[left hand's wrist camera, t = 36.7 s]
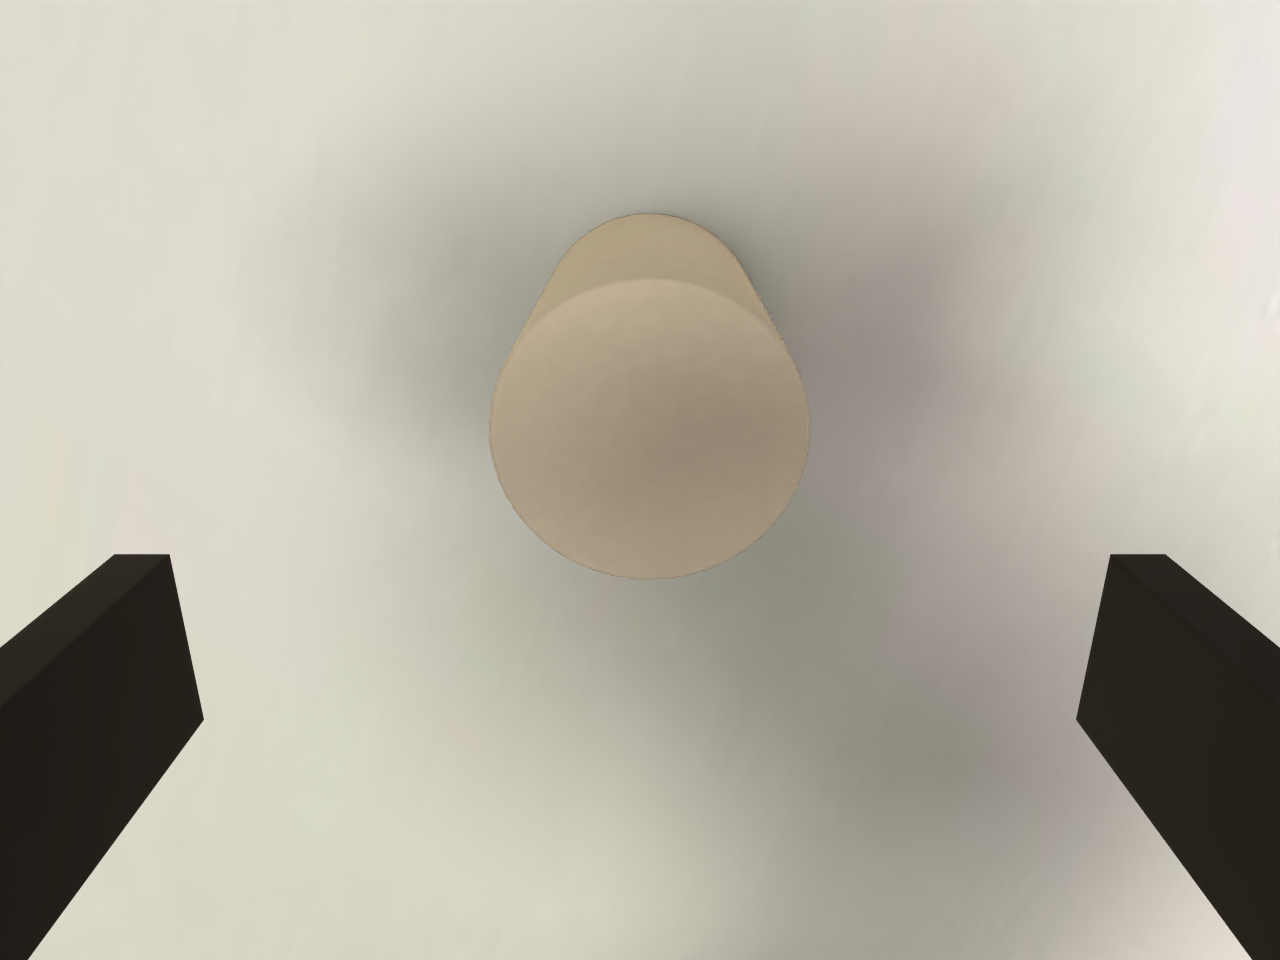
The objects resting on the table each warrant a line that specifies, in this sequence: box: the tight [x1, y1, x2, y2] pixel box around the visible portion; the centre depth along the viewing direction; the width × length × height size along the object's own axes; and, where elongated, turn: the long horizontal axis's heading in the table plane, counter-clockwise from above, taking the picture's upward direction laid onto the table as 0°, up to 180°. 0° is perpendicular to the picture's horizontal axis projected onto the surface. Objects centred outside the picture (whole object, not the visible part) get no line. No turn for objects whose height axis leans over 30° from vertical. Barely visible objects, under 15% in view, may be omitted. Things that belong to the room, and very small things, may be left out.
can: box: [489, 214, 810, 580], centre depth 24 cm, size 7×7×11 cm
